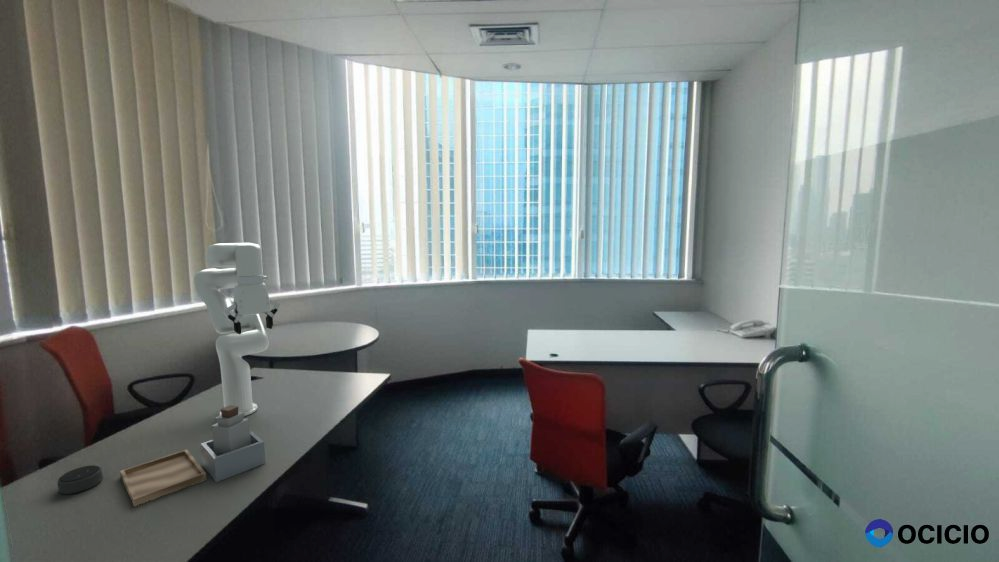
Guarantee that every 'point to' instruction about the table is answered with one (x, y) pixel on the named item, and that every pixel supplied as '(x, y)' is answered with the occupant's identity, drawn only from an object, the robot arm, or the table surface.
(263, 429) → the table surface
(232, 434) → the perfume bottle
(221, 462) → the grey storage bin
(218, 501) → the table surface
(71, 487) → the smart speaker
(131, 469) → the tray
